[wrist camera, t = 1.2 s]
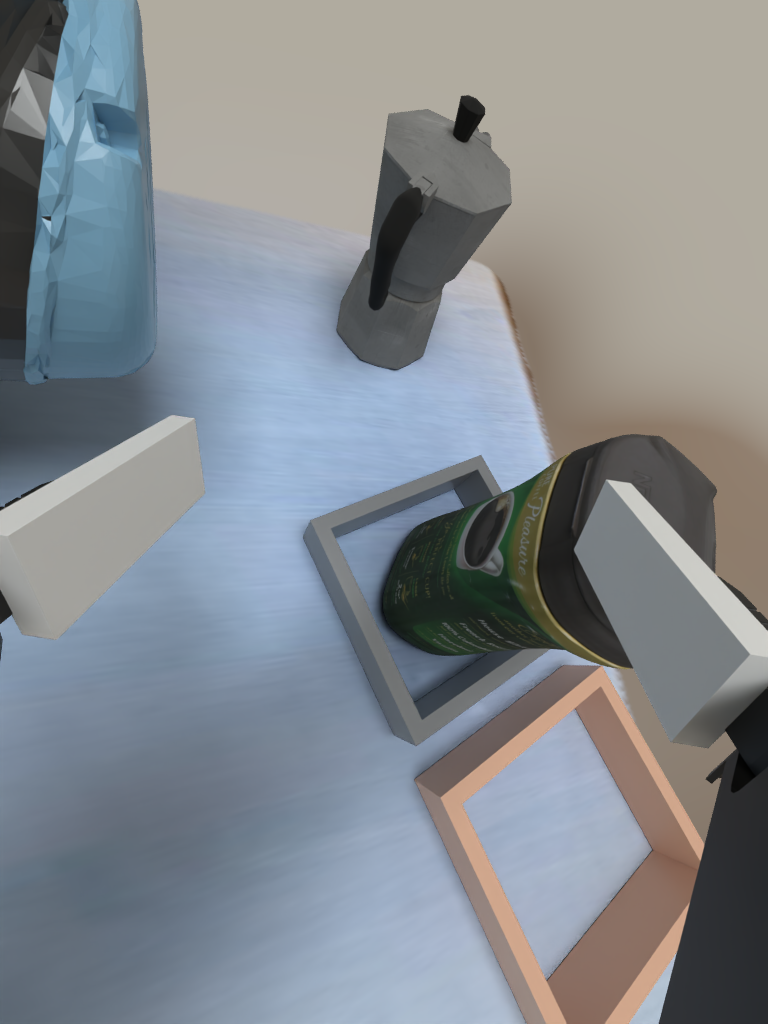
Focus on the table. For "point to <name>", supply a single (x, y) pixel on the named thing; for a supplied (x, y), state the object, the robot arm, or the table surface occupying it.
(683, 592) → the robot arm
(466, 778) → the terracotta bin
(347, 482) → the table surface
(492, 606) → the coffee jar
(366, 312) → the coffeepot
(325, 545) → the charcoal bin
